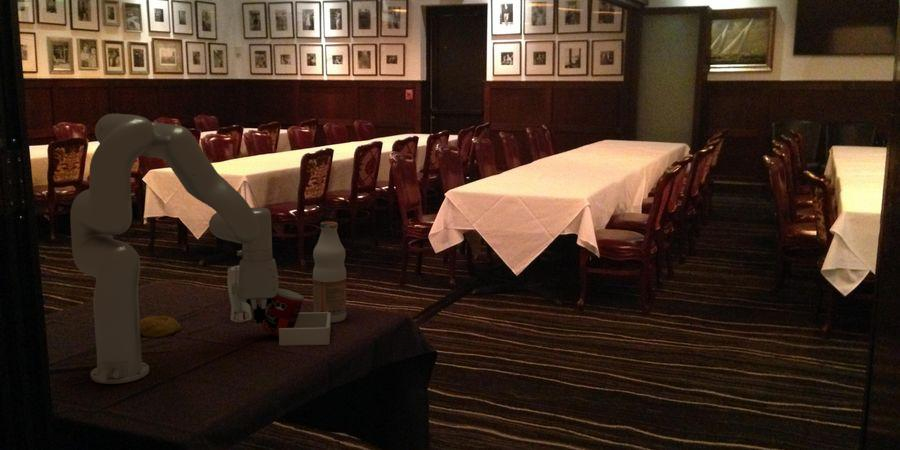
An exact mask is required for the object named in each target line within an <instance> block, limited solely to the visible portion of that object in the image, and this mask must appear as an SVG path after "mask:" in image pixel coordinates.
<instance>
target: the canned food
mask: <svg viewBox="0 0 900 450" xmlns="http://www.w3.org/2000/svg"><path fill="white" fill-rule="evenodd" d="M303 301H304V296H303V295H301V294H300V293H298V292H295V291H293V290H289V289H286V288H279V289H278V294H277V296H276V297H275V298H272V300H271V303H270V304H269V305H268V309H267V311H266V318H265V320H263V324H262V325H263V326H262V329H263V330H264V331H265V332H266V333H268V334H270V335H274V336H277V337H279V328H294V326H295V323H296V320H297V317H298V314H299V313H300V311H301V308H302V304H303Z"/></svg>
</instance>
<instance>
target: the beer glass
mask: <svg viewBox="0 0 900 450" xmlns="http://www.w3.org/2000/svg"><path fill="white" fill-rule="evenodd" d="M238 275H239V265H233V266H229V267H228V268H227V283H226V284H227V291H228V297H229V301H230V306H231V308H230V309H231V312H230V321H231V322H232V323H246V322H250V321H252V320H253V316H252V310H251V308H252V307H251V306H250V305H249V304H248V303H245V302H240V301H238V298H239V293H238Z"/></svg>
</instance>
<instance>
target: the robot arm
mask: <svg viewBox="0 0 900 450" xmlns="http://www.w3.org/2000/svg"><path fill="white" fill-rule="evenodd" d="M94 135H95V138H96V141H98V143H99V145H97V147H96V149H95V150H94V153H93V155H92V156H91V160H90V163H89V175H88V176H89V178H88V180H89V183H88V185H89V188H88V189H85V190H82V192H80V193H79V194H77V196H76V197H75V198H74V200H73V202H72V204H71V208H70V219H69V220H70V233H71V234H70V235H71V249H72V251H71V252H72V258H73V261H74V264H75V266H76V267H77V269H79V271H81V272H82V273H84V274H86V275H87V276H90V277H93V278H95V288H94V290H93V299H92V303H93V305H92V306H93V316H94V319H93V320H94V332H95V333H94V334H95V335H94V336H95V347H96V367H95V368H93V369H92V370H91V371H90V379H91V381H93V382H95V383H98V384H104V385H106V384H107V385H117V384H126V383H131V382H134V381H137V380H141V379H143V378H144V377H146V376H147V375H148V374H149V373H150V366H149V365H148V364H147V363H146V362H143V359H142V341H141V332H140V320H141V319H140V307H139V305H140V304H139V283H140V282H139V281H140V280H139V279H140V274H141V273H140V272H141V260H140V255H139V254H138V252H137V250H136V249H135V248H134V247H133V246H131V245H130V244H129V243H127V242H124V241H121V240H119V239H114V238H113V237H114V236H116V235H121V234H123V233H125V232H126V231H127V230H129V228H130V227H131V224H132V222H133V221H132V220H133V207H132V187H131V185H132V182H131V180H132V179H131V178H132V177H131V176H132V170H133V167H134V164H135V163H136V160H137V159H138V158H139V157H147V158H154V159H161V160H165V162H166V163H167V165H168V166H169V168H170V169H171V170H172V172H173V174H174V175H175V176H176V177H177V179H178V180H179V182H180V184H181V185H182V187H183V188H184V190H185V191H186V192H187V193H188V194H189V195H191V196H192V197H193V198H195V199H196V200H197V201H199V202H201V203H203V204H205V205H206V206H208V207H210V208H211V209H213V210H214V211H215V212H214V214H213V215H211V216H210V219H209V222H208V227H209V230H210V232H211V234H212V235H214V236H215V237H216V238H219V239H220V240H224V241H229V242H233V243H237V244H240V245H241V244H242V249H240V250H236V251H237V252H236V256H237V257H241V258H242V259H240V260H239V265H238V266H239V275H238V293H239V298H238V301H240V302H245V303H248V304H249V305H250V306H251V308H252V309H253V321H255V323H256V325H259V324H262V325H263V324H264V321H265V318H266V315H267V310H266V308H267V307H269V305H270V303H271V300H272V298H275V297H276V296H277V294H278V289H279V287H280V285H279V275H278V274H279V273H278V268H277V267H278V266H277V263H276V259H275V258H273V239H272V238H273V237H272V234H273V233H272V232H273V231H272V214H271V211H270V209H268V208H267V207H262V206H261V207H259V206H258V207H255V206H254V207H251V205H249V203H248V202H247V199H245V198H244V197H243V196H242V194H241V193H240V192H239V191H237V189H236V188H234V186H232V185H231V184H230V183H229V182H228V181H227V179H225V178H224V177H223V176H222V175H220V174H219V173H218V172H217V170H216V169H215V167H214V165H213V164H212V162H211V161H210V159H209V158H208V156H207V154H206V153H205V151H204V150H203V148H202V147H201V145H200V143H198V141H197V139H196V137H195V136H194V134H192V132H191V131H190V130H189V129H188V128H187V127H185V126H182V125H179V124H169V123H159V122H154V121H150V120H149V119H148V118H146V117H143V116H141V115H137V114H128V113H127V114H123V113H108V114H105V115H104V116H102V117H100V118H99V120H98V121H97V123H96V124H95V128H94ZM258 300H261V304H260V305H259V303H258Z"/></svg>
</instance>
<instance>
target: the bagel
mask: <svg viewBox="0 0 900 450" xmlns="http://www.w3.org/2000/svg"><path fill="white" fill-rule="evenodd" d="M139 320H140V335H142V336H144V337H148V338H162V337H167V336H171V335H172V334H174V333H177V332H179V331H180V330H181V329H182V327H181V324H180V323H179V322H178V321H177V320H176V319H175V318H173V317H172V316H169V315H159V316H156V315H150V316H146V317H143V318H142V319H139Z"/></svg>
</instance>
